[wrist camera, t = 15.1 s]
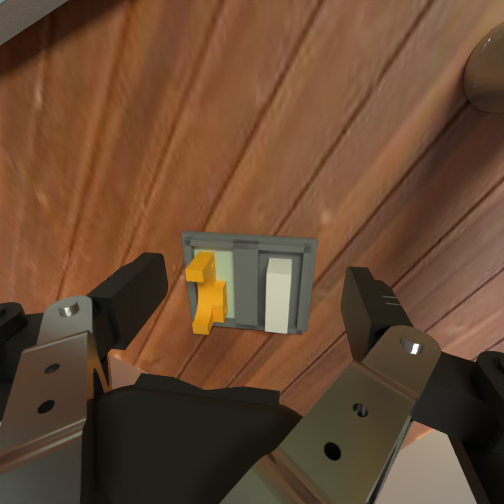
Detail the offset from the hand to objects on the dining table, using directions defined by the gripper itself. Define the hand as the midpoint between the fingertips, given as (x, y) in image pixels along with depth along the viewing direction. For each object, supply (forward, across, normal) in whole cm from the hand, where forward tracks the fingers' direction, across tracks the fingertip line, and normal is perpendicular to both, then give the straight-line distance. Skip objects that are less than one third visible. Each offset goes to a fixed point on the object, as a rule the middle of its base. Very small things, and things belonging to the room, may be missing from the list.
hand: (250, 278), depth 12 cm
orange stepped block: (+29, +11, +19) cm, 37 cm away
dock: (+30, +5, +19) cm, 36 cm away
